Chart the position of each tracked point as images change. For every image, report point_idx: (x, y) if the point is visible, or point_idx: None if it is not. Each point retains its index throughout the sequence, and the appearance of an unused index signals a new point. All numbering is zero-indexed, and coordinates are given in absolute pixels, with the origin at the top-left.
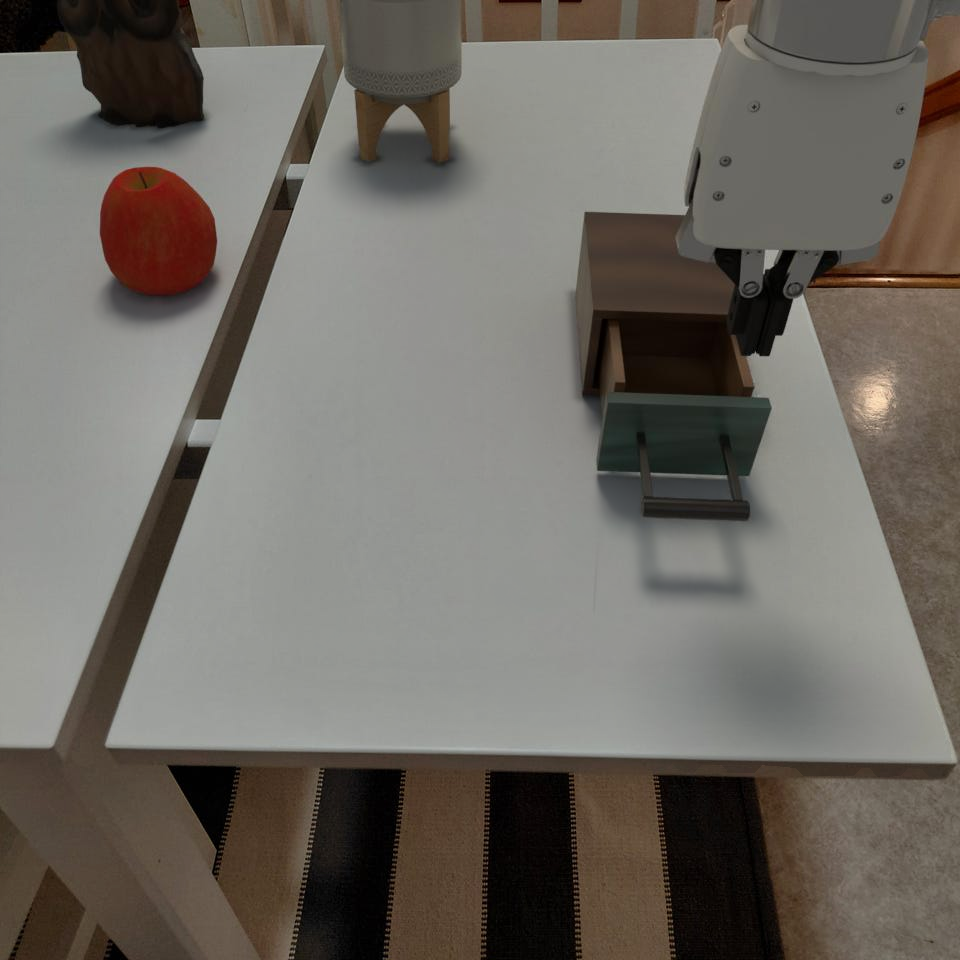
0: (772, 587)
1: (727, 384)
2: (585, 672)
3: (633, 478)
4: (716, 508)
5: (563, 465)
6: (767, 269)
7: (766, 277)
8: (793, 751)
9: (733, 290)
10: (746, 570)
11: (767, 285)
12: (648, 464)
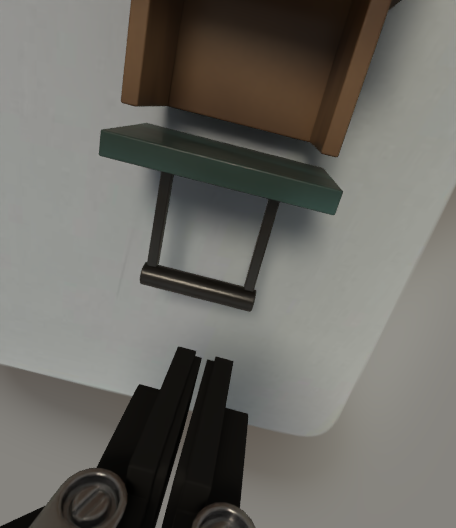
0: (277, 307)
1: (337, 69)
2: (102, 341)
3: None
4: (215, 301)
5: (115, 109)
6: (190, 484)
7: (176, 500)
8: None
9: (109, 443)
10: (262, 286)
11: (166, 521)
12: (162, 220)
